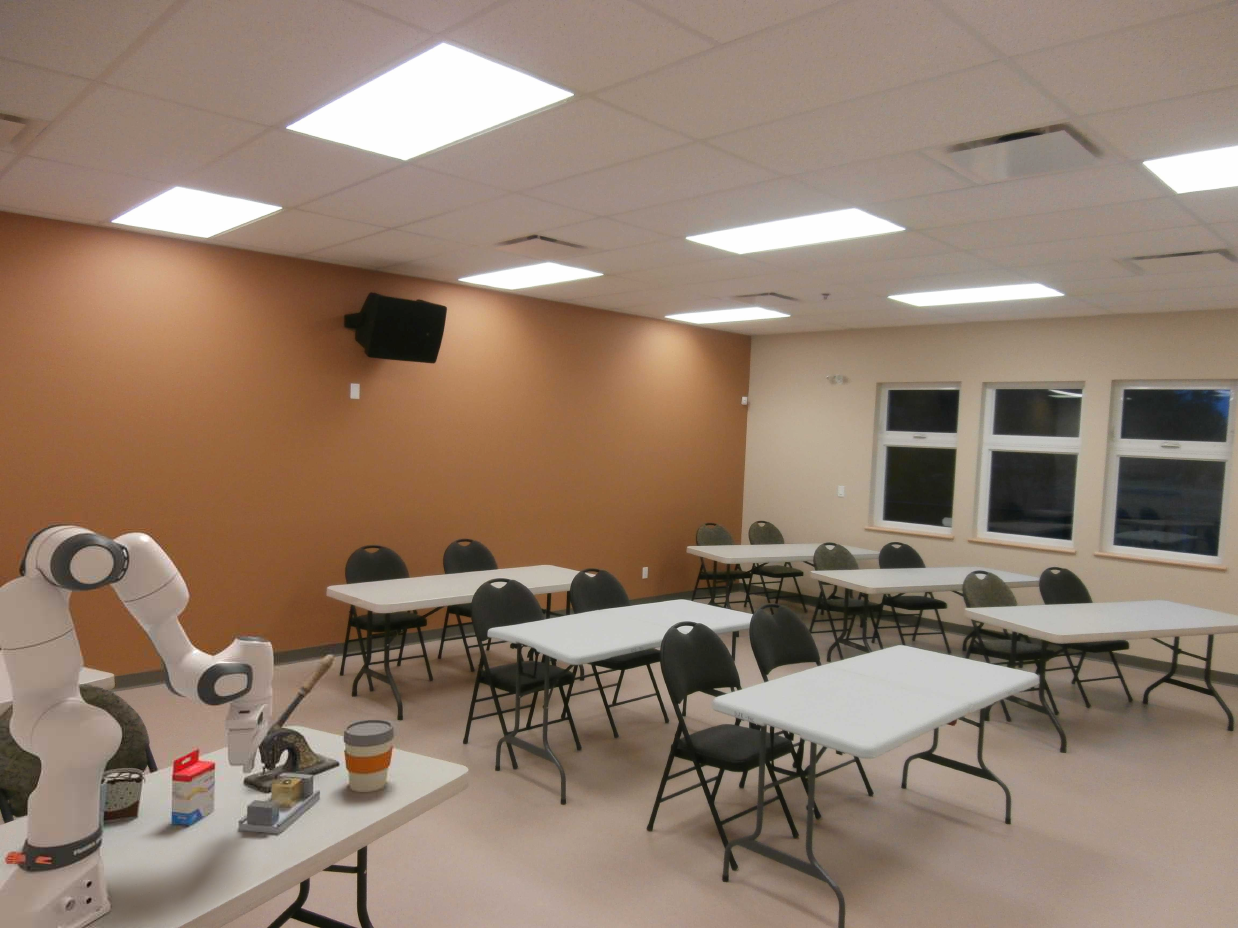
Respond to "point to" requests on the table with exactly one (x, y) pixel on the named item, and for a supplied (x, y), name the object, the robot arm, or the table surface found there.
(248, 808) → the block
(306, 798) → the press bed
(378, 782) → the reusable coffee cup
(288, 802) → the housing
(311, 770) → the embossing press
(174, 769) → the ink box
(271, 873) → the table surface
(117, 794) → the food container
